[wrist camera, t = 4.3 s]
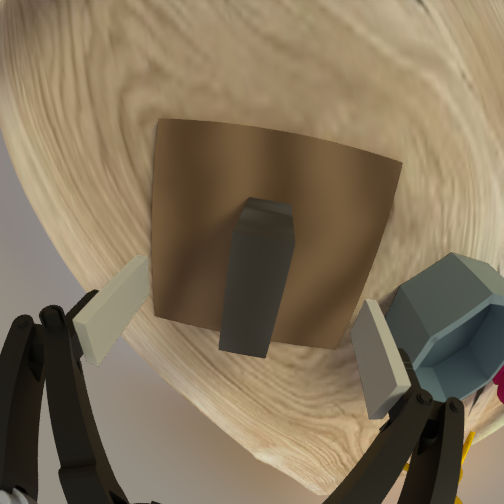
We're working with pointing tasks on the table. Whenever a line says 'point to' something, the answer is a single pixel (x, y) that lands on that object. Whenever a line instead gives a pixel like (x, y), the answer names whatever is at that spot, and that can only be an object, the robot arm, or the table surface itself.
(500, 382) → the pepper mill
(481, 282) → the bowl
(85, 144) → the table surface
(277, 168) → the lid
